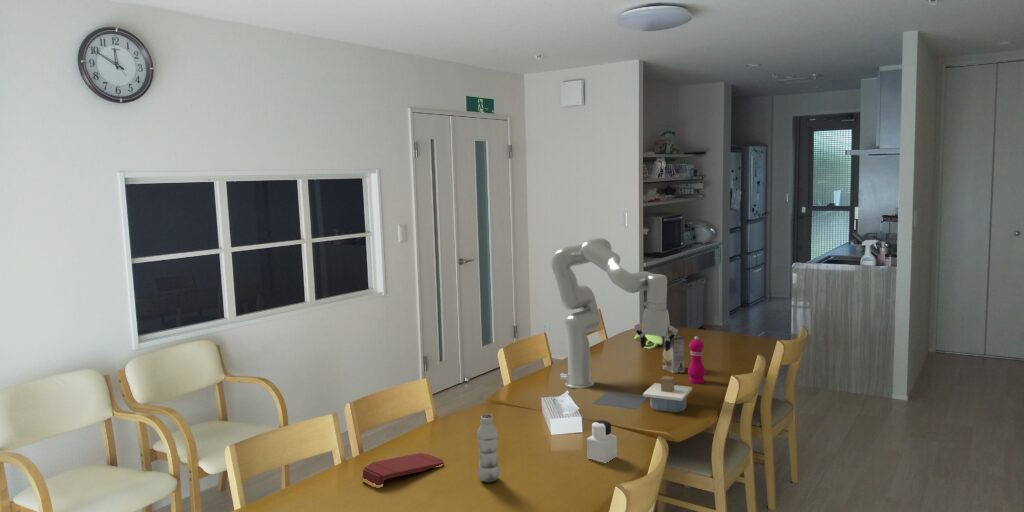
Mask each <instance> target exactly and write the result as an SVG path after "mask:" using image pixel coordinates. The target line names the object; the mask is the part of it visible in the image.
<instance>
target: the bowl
mask: <svg viewBox="0 0 1024 512" xmlns="http://www.w3.org/2000/svg"><path fill="white" fill-rule="evenodd" d="M649 404H650V407H651V408H652V409H654V410H657V411H661V412H662V411H663V412H672V413H679V412H683V411H685V409H687V396H686V397H685V398H684V399H683V400H682V401H678V400H670V399H662V398H653V397H649Z"/></svg>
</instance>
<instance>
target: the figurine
mask: <svg viewBox="0 0 1024 512" xmlns="http://www.w3.org/2000/svg"><path fill="white" fill-rule="evenodd" d="M645 336H646V346H645V347H643V348H642V349H645V348H647V350H652V349H654V348H656V347H657V346H658V345H659V346H662V336H655V335H647V334H646V335H645ZM639 338H640V336H639V335H638V333H637V332H636V334H635V336H634V338H633V340H637V339H639Z"/></svg>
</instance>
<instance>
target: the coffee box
mask: <svg viewBox="0 0 1024 512" xmlns="http://www.w3.org/2000/svg"><path fill="white" fill-rule="evenodd" d="M669 334H670V336H671V335H672V334H673V333H669ZM661 338H662V345H661V346H662V370H664V371H667V372H668V373H672V374H673V373H674V374H679V373H678V372H680V373H685V337H684V336H683V335H682V336H681V335H679V334H676V336H675V337H674V338H673V339H671V347H670V349H669V350H668V351H665V342H666V341H667V340H666V338H665V337H664V336H661Z"/></svg>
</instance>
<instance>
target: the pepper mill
mask: <svg viewBox="0 0 1024 512" xmlns="http://www.w3.org/2000/svg"><path fill="white" fill-rule="evenodd" d="M704 345H705V344H704V342H703V341H702V340H700V339H699V336H697V335H696V336H694V339H692V340H690V342H689V345H688V346H689V347H688V348H689V349H690V355H691V362H690V364H689V366H688V369H687V374H688V375H689V378H688V382H689V383H690V384H693V383H694V384H695V385H700V384H701V383H702V384H704V383H705V378H704V376H705V375H706V369H705V366H704V364H703V362H702V356H703V350H704V348H705V347H704ZM702 384H701V385H702Z"/></svg>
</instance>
